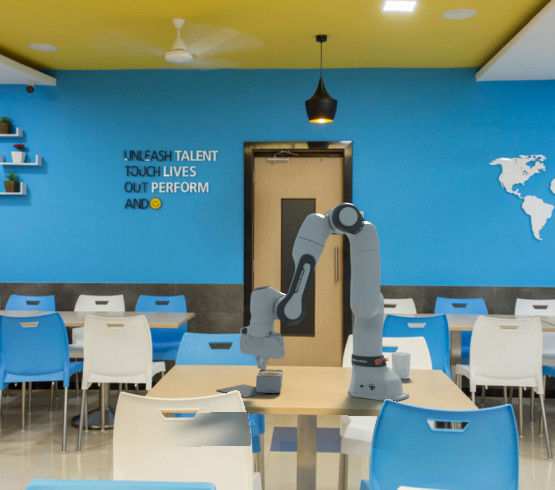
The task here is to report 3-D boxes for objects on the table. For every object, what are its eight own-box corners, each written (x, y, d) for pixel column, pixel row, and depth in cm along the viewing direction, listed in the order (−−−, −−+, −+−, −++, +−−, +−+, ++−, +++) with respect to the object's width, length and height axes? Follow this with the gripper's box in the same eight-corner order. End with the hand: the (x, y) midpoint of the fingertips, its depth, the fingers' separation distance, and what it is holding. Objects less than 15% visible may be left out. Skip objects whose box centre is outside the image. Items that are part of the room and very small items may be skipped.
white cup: (391, 378, 243) (391, 354, 243) (391, 375, 251) (391, 351, 251) (410, 379, 241) (410, 355, 241) (410, 376, 249) (410, 352, 249)
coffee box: (256, 374, 214) (259, 368, 230) (255, 392, 213) (258, 385, 229) (281, 375, 213) (282, 369, 230) (280, 393, 213) (281, 386, 229)
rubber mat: (272, 391, 219) (272, 390, 219) (245, 398, 208) (245, 397, 208) (243, 385, 230) (243, 384, 230) (216, 390, 219) (216, 389, 220)
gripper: (288, 332, 208) (288, 371, 208) (249, 327, 222) (248, 363, 222) (276, 334, 204) (276, 373, 203) (237, 328, 218) (236, 366, 217)
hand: (261, 368), depth 213 cm, fingers closed
